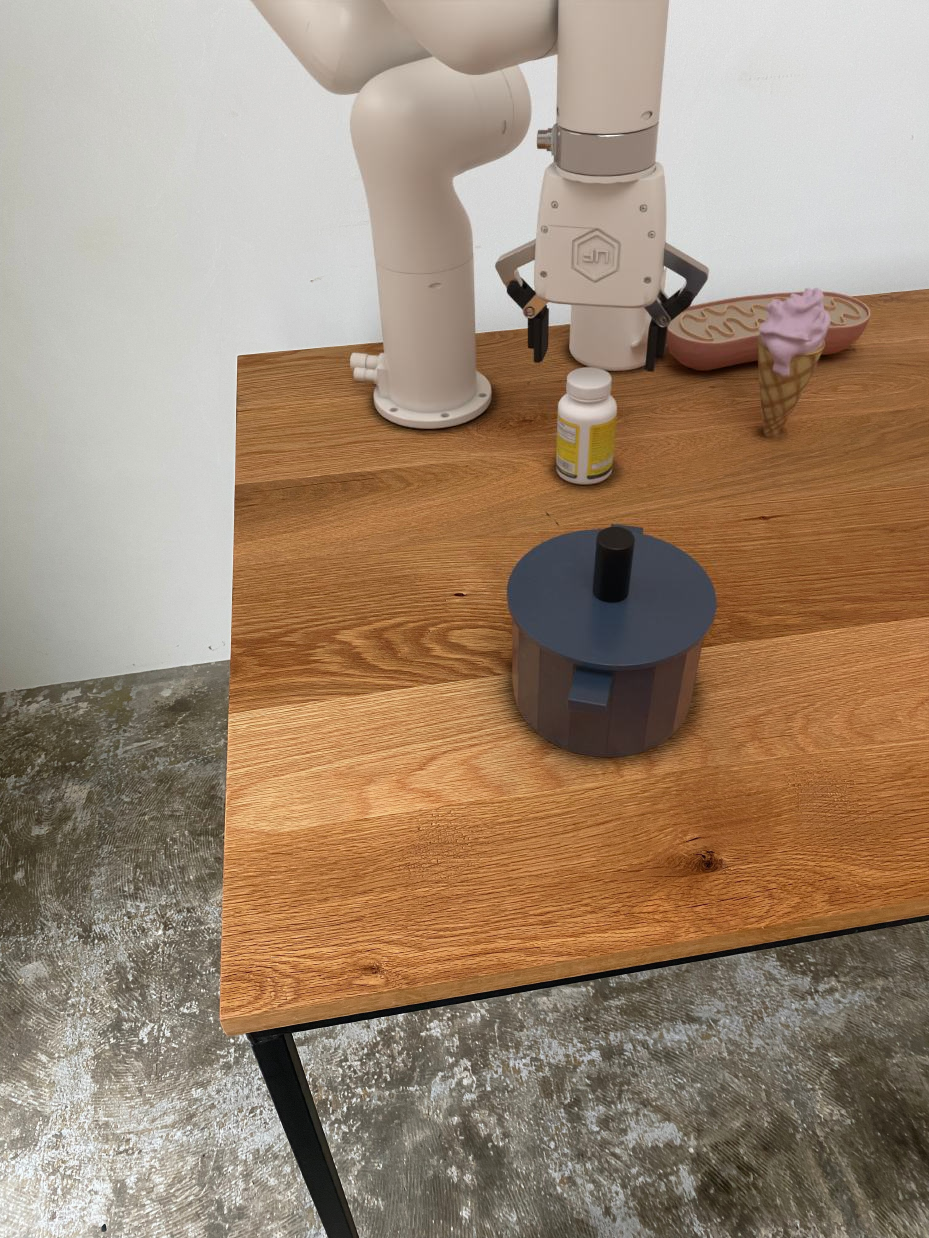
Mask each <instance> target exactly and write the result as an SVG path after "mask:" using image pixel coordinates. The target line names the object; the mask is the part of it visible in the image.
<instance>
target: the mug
mask: <svg viewBox="0 0 929 1238" xmlns="http://www.w3.org/2000/svg"><path fill="white" fill-rule="evenodd" d="M667 270H668V268H667V267H665V266H664V271H663V275H662V280H661V288H662V289H663V291H664V292H665V287H666V277H667ZM650 322H651V316H650V315H649V314H648V312H647V311H646V310H645V308H644V307H643V308H613V307H597V306H582V305H570V323H569V324H570V325H569V345H568V346H569V348H568V349H569V351H570V355H571V356H572V357H573V358H574V360H575V361H576V362H578V363H579V364H582V365H583V366H586V367H591V368H599V369H602V370H604V371H606V372H608V371H610V372H621V371H622V372H623V371H630V370H636V369H639V368H641V367H645V363H646V352H647V341H648V330H649V325H650Z"/></svg>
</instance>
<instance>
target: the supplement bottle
mask: <svg viewBox="0 0 929 1238" xmlns="http://www.w3.org/2000/svg"><path fill="white" fill-rule="evenodd" d="M612 379H613V377H612V375H611V374H610V373H609V372H608V371H606V370H602V369H599V368H591V367H588V366H586V367H578V368H575V369H573V370H572V371H570V372H569V373H568V374H567V376H566V383H565V384H566V387H565V390H566V393H565V394H564V395H563V396H562V397H560V399H559V401H558V404H557V419H556V420H557V422H556V423H557V424H556V451H555V466H556V467H555V469H556V472H557V474H558V475H559V477H560V478H561V479H562V480H563V481H564V480H565V481H566V482H568V483H571V484H574V485H582V486H583V485H585V486H587V485H595V484H600V483H602V482H603V481H606V480H607V479H608V478H609V477H610V475H611V474H612V473H613V467H614V456H615V445H616V444H615V443H616V430H617V417H618V406H617V401H616V399H615V398H614V397H613V396H612V395H611V393H612V384H613V383H612Z"/></svg>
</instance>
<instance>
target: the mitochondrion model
mask: <svg viewBox="0 0 929 1238" xmlns="http://www.w3.org/2000/svg"><path fill="white" fill-rule="evenodd" d="M821 291H822V293H823V295H824V298H823V305H824V310H825V311H826V312H827V313H828V314H829V315H830V319H831V322H830V325H829V328H828V330H827V334H826V336H825V338H824V341H825V346H824V349H823V351H822V353H821V355H820V356H828V355H833V354H837V353H839V352H842V351H844V350H846V349H847V348H849V347H851V346H852V345H853V344H854V343H856V341H858V339H860V337H861V336H862V335H863V334H864V332H865V330H866V329H867V326H868V325H869V322H870V318H871V316H872V315H871V314H872V313H871V309H870V308H869V307H868V305H867V304H866V303H864V302H862V301H861V300H859V299H858V298H856V297H853V296H850V295H847V294H843V293H839V292H835V291H823V290H821ZM803 293H804V291H793V292H792V291H791V292H790V291H789V292H776V293H763V294H751V295H745V296H737V297H731V298H723V299H718V300H713V301H709V302H708V301H707V302H702V303H698V304H694V305H693V304H691V305H690V306H689V307H688V308H687V309H686V310H684V311H683V312H682V313H681V314H679V315H678V316H677V317H676V318H674V319H673V320H672V321H671V322H670V324H669V325H668V329H667V339H666V347H667V349H668V350H669V352H670V354H671V355H672V356H673V358H675V359H676V360H677V362H679V363H680V364H681V365H683V366H685V367H687V368H689V369H692V370H696V371H712V370H717V369H720V368H726V367H730V366H735V365H740V364H745V363H751V362H758V337H759V334H760V332H759V326H760V324H762V322H765V321H766V320H767V318H768V316H769V312H768V311H767V310H766V307H765V306H766V305H767V304H769V303H770V302H771V301H772V300H774V299H779V300H781V301H785V300H787V299H790V295H791V294H797V295H800V296H802V295H803Z"/></svg>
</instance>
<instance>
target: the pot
mask: <svg viewBox="0 0 929 1238" xmlns="http://www.w3.org/2000/svg"><path fill="white" fill-rule="evenodd" d="M610 527H622V528H625V529H627V530H629V531H632V532H638V533H641V534H644V527H641V526H634V525H627V524H626V525H625V524H619V523H610ZM511 620H512V624H511V625H512V627H511V629H512V630H511V635H512V636H511V638H512V639H511V640H512V641H511V646H512V647H511V658H512V659H511V683H512V688H513V696H514V701H515V705H516V706H517V709H518V711H519V712H520V715H521V717H522V719H524V721H525V722H526V724H527V726H529V727H530V728H531V729H532V730H533V731H534V732H535V733H536V734H538V735H539V736H540V737H542V738H543V739H544V740H546V741H547V742H549V743H551V744H553V745H555V746H556V747H558V748H560V749H562V750H565V751H568V752H571V753H574V754H578V755H583V756H587V757H595V758H622V757H628V756H635V755H638V754H642V753H644V752H645V753H646V752H647V751H650V750H652V749H655V748H656V747H658V746H660V745H662V744H663V743H665V742H667V741H668V740H669V739H671V738H672V737H673V736H674V735H675V734H676V733H677V731H678V730H679V729H680V728H681V727H682V725H683V723H684V722H685V720H686V718H687V715H688V714H689V712H690V708H691V704H692V699H693V694H694V689H695V683H696V679H697V673H698V669H699V664H700V659H701V653H702V648H703V642H704V639H703V640H702V641H701V642H700V643H699V644H698V645H697V646H696V647H694V648H693V649H692V650H690V651H689V652H688V653H686V654H684V655H682V656H681V657H679V658H677V659H675V660H672V661H670V662H667V663H665V664H661V665H658V666H654V667H650V668H644V669H638V670H624V671H619V670H602V669H593V668H589V667H584V666H579V665H576V664H573V663H570V662H567V661H564V660H562V659H559V658H557V657H555V656H552V655H551V654H549V653H547V652H545V651H543V650H542V649H540V648H539V647H538V646H536V645H535V644H533V643H532V642H531V641H530V640H529V639H528V638H527V637H526V636H524V635H523V633H522V632H521V631H520V630H519V628H518V627H517V626H516V624H515V622H514V621H513V619H512V618H511Z"/></svg>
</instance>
